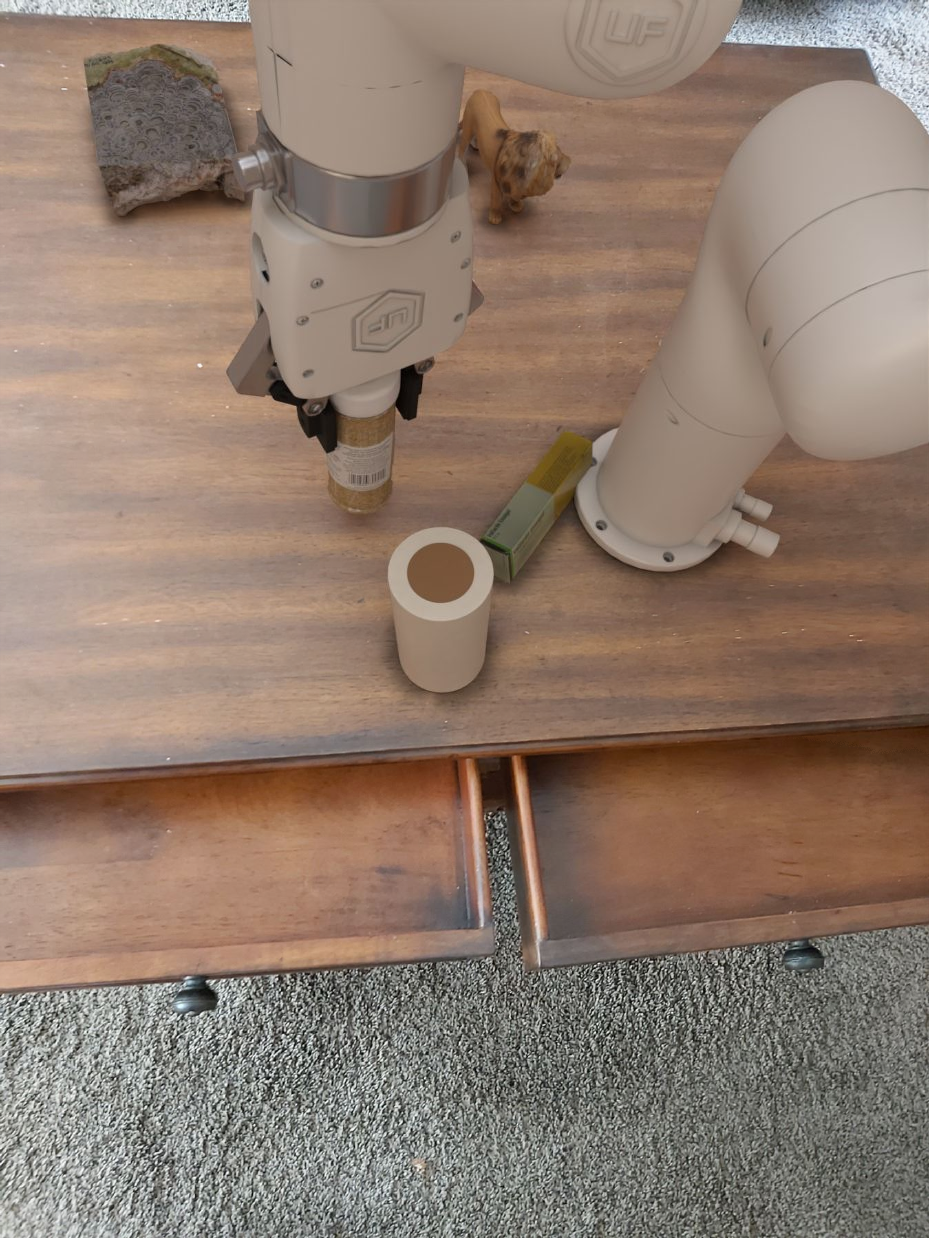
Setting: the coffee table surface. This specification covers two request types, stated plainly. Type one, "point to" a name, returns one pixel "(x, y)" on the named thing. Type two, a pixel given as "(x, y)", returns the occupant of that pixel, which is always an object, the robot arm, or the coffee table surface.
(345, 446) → the sprinkles bottle
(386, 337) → the robot arm
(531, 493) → the medication box
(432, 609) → the paper towel roll
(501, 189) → the lion figurine
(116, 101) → the geological specimen
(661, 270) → the coffee table surface
